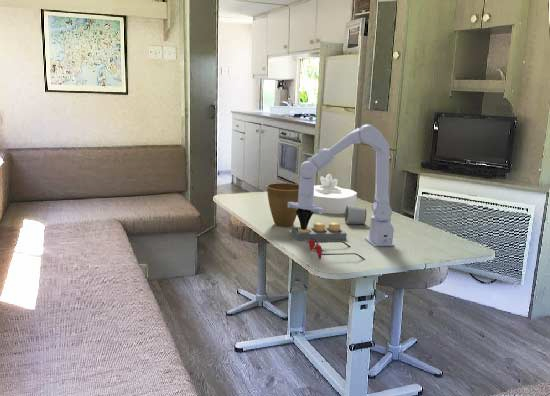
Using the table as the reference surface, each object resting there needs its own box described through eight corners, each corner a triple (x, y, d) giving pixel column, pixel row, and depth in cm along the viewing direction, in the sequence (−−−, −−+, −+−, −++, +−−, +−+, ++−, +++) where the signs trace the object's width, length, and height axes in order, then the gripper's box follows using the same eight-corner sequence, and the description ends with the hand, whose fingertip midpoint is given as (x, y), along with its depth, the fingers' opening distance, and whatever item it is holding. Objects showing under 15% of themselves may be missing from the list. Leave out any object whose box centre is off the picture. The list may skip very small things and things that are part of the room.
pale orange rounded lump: (310, 237, 190) (311, 230, 189) (299, 237, 189) (299, 230, 188) (307, 234, 194) (307, 227, 193) (296, 234, 193) (296, 227, 192)
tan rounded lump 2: (341, 232, 192) (341, 225, 191) (330, 232, 191) (330, 225, 190) (337, 229, 196) (338, 222, 196) (326, 229, 195) (327, 222, 195)
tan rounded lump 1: (326, 232, 191) (326, 225, 190) (315, 232, 190) (315, 225, 189) (322, 229, 195) (323, 222, 194) (311, 229, 194) (312, 222, 193)
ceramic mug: (366, 226, 211) (367, 208, 209) (346, 225, 210) (348, 207, 209) (361, 220, 221) (362, 202, 219) (342, 219, 221) (343, 202, 219)
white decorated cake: (340, 216, 226) (343, 180, 223) (291, 207, 239) (293, 173, 235) (360, 206, 247) (363, 173, 244) (315, 198, 260) (317, 167, 256)
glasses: (306, 248, 179) (307, 235, 178) (350, 247, 182) (351, 234, 181) (318, 262, 165) (319, 247, 164) (365, 260, 169) (366, 246, 168)
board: (346, 239, 191) (346, 233, 190) (297, 240, 186) (297, 234, 186) (335, 229, 203) (335, 224, 202) (289, 230, 199) (289, 224, 198)
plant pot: (294, 219, 216) (296, 182, 213) (306, 228, 202) (309, 189, 199) (260, 220, 211) (262, 182, 208) (271, 230, 198) (273, 190, 194)
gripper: (328, 195, 187) (325, 230, 190) (295, 189, 195) (293, 223, 198) (319, 198, 181) (316, 234, 184) (285, 191, 189) (283, 226, 192)
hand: (303, 228), depth 191 cm, fingers closed, pressing on pale orange rounded lump
